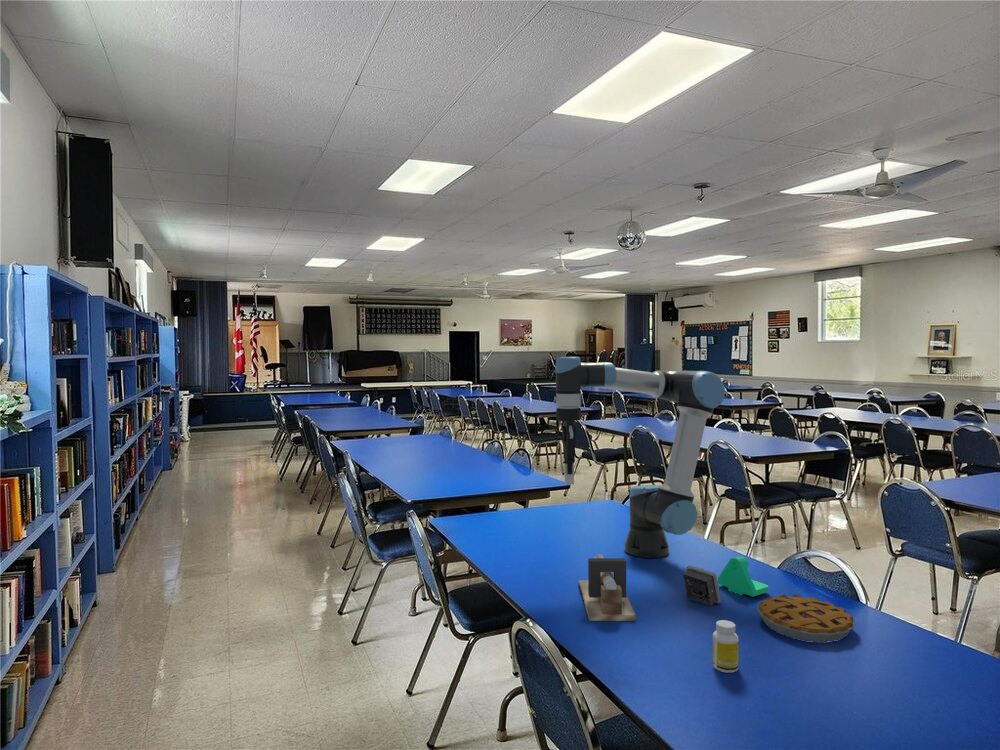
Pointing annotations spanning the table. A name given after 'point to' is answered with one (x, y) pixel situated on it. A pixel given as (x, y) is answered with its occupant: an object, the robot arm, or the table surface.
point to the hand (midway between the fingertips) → (569, 483)
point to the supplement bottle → (725, 647)
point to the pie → (805, 618)
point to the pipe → (607, 578)
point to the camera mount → (740, 578)
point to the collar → (605, 566)
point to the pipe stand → (607, 604)
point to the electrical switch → (701, 585)
